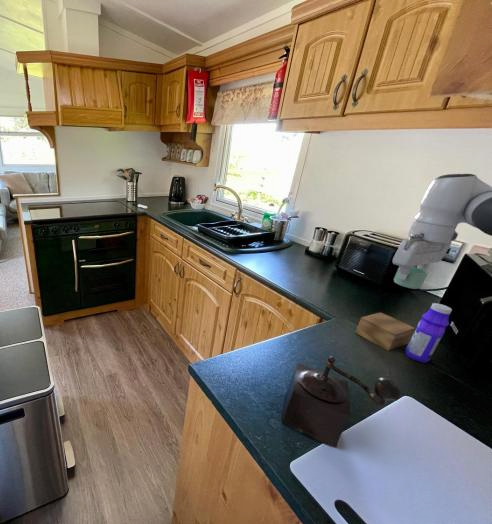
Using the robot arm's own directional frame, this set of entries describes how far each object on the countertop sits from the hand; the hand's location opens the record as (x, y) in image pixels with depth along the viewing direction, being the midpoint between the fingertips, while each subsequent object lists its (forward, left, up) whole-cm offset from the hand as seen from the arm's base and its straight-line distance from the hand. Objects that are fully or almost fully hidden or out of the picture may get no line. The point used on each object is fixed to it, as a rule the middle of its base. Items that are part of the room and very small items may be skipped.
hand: (409, 277), depth 86 cm
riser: (0, -1, -22) cm, 22 cm away
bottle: (-9, -1, -23) cm, 24 cm away
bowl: (0, 0, -2) cm, 2 cm away
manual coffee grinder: (-15, +50, -23) cm, 57 cm away
